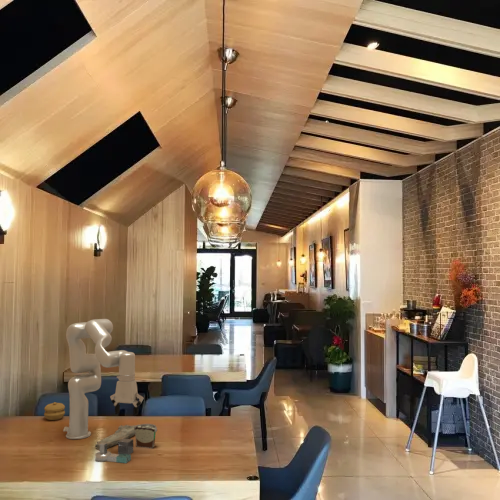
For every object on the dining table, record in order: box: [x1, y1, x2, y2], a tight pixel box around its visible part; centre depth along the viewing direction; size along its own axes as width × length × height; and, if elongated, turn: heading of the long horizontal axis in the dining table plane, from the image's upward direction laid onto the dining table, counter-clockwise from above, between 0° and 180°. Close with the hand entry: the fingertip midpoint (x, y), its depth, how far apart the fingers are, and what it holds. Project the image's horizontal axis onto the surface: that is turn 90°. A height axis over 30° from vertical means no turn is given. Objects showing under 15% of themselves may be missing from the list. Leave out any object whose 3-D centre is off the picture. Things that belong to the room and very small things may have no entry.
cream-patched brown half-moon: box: [134, 423, 158, 450], centre depth 254 cm, size 12×6×10 cm, turn 71°
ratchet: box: [94, 443, 132, 464], centre depth 233 cm, size 16×7×7 cm, turn 75°
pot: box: [43, 401, 66, 421], centre depth 303 cm, size 12×12×10 cm
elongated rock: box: [94, 424, 136, 451], centre depth 263 cm, size 35×5×10 cm
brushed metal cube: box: [117, 438, 134, 455], centre depth 242 cm, size 5×5×6 cm
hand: (126, 414), depth 243 cm, fingers open, 9 cm apart
